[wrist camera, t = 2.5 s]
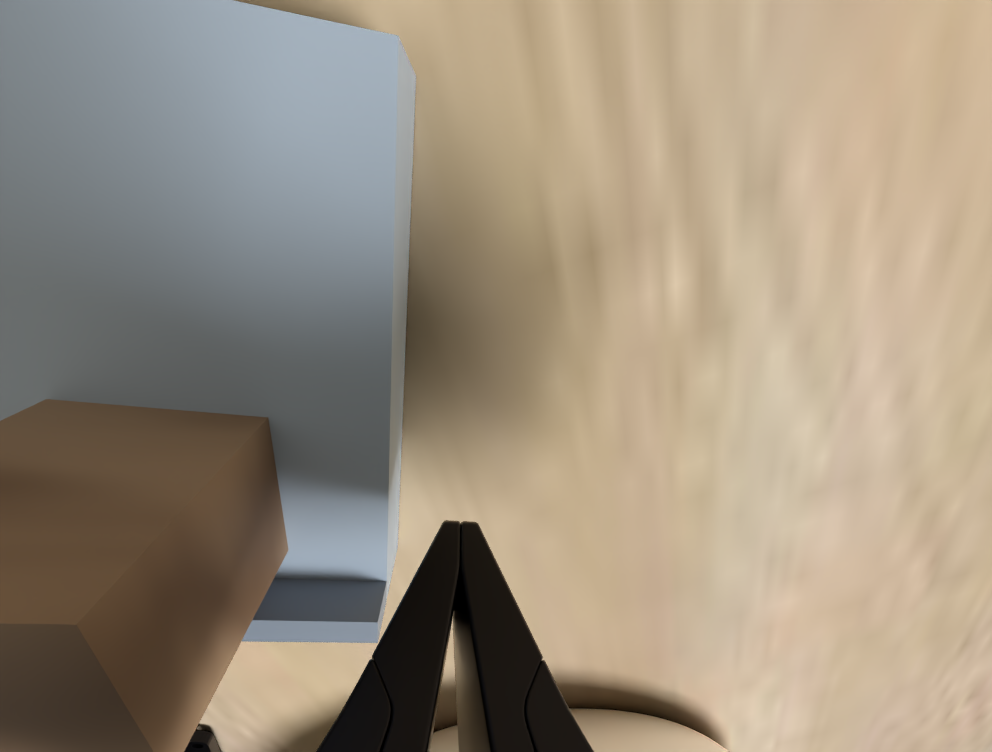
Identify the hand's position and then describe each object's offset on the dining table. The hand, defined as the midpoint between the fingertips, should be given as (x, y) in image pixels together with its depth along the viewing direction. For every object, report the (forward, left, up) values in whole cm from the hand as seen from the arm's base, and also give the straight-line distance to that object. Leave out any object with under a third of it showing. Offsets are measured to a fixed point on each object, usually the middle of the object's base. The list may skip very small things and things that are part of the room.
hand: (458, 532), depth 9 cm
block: (0, +7, -1) cm, 7 cm away
